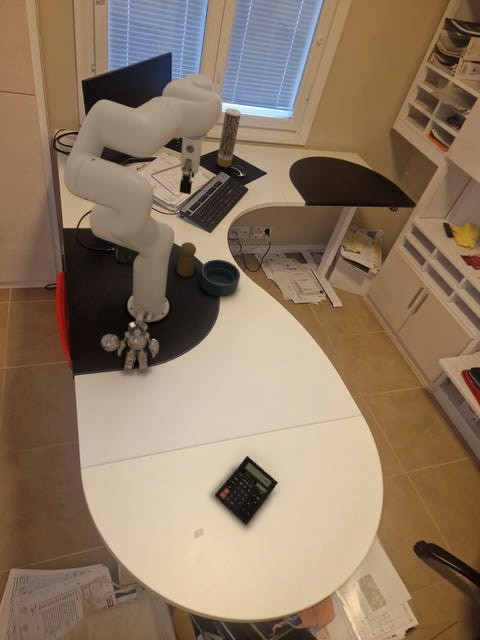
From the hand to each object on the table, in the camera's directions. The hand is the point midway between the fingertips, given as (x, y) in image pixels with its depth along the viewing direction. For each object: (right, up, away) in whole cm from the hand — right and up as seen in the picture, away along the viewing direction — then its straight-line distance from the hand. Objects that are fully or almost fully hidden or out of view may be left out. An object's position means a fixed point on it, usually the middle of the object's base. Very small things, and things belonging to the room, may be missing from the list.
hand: (186, 184), depth 123 cm
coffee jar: (-22, -19, +19) cm, 34 cm away
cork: (-3, -24, +20) cm, 31 cm away
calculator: (+17, -81, -27) cm, 87 cm away
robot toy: (-14, -53, -10) cm, 56 cm away
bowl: (+8, -28, +18) cm, 35 cm away
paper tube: (+8, +35, +77) cm, 85 cm away
